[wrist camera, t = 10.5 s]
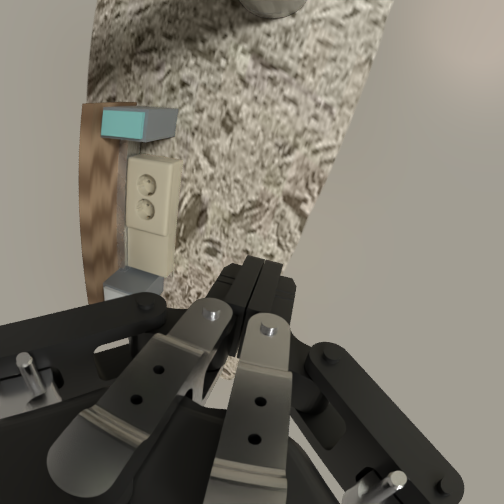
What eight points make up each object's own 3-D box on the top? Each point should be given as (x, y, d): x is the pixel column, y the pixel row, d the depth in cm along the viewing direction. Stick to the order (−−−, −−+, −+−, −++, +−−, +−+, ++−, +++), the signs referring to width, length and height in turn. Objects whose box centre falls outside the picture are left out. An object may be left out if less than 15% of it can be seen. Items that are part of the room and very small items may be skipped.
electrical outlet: (125, 268, 47) (126, 157, 39) (137, 257, 51) (141, 152, 43) (163, 280, 46) (171, 164, 38) (174, 268, 50) (184, 159, 42)
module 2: (128, 260, 51) (100, 284, 43) (163, 271, 50) (138, 298, 42) (129, 279, 53) (103, 305, 45) (163, 290, 52) (139, 319, 44)
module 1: (136, 105, 39) (100, 107, 32) (178, 109, 38) (146, 109, 31) (133, 131, 41) (97, 137, 33) (174, 136, 40) (142, 142, 33)
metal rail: (133, 131, 41) (120, 133, 38) (141, 132, 41) (128, 134, 38) (128, 260, 51) (117, 269, 48) (135, 262, 51) (125, 272, 48)
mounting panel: (126, 102, 39) (82, 103, 30) (136, 102, 39) (93, 103, 30) (120, 279, 53) (89, 308, 44) (129, 282, 53) (98, 312, 44)
